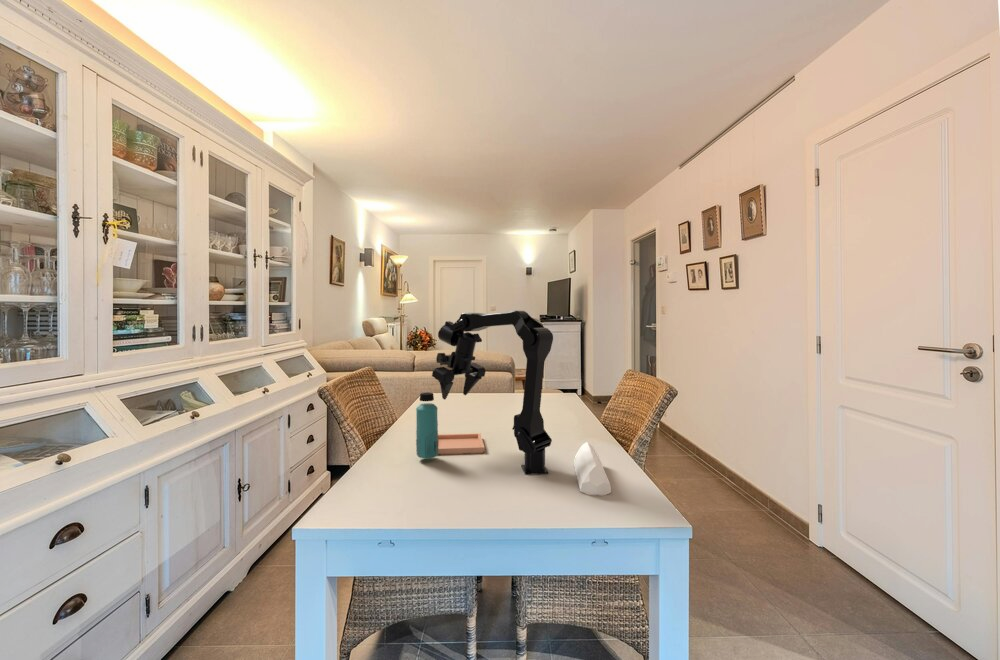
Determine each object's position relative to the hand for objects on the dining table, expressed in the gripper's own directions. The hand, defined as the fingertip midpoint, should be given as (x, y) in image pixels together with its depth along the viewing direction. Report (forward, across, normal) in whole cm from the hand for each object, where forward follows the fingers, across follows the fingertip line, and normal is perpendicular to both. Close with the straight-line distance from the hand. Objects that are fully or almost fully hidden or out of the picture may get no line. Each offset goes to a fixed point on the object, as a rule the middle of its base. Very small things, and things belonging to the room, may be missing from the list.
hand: (454, 396), depth 142 cm
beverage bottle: (+15, +14, +7) cm, 22 cm away
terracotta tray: (+16, -2, +4) cm, 17 cm away
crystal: (+3, -5, +49) cm, 50 cm away
